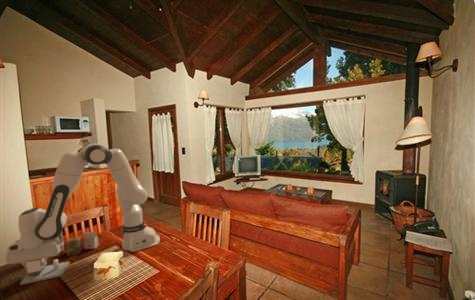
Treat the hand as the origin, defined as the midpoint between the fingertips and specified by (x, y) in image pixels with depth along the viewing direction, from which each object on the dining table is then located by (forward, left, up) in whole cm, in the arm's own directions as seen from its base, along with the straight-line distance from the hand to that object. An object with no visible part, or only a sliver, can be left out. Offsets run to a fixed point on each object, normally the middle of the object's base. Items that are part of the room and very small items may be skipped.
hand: (36, 266), depth 107 cm
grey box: (-19, -20, -5) cm, 28 cm away
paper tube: (-1, -22, -5) cm, 23 cm away
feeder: (-11, -18, -5) cm, 22 cm away
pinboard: (-4, 0, -5) cm, 6 cm away
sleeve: (0, 0, -3) cm, 3 cm away
